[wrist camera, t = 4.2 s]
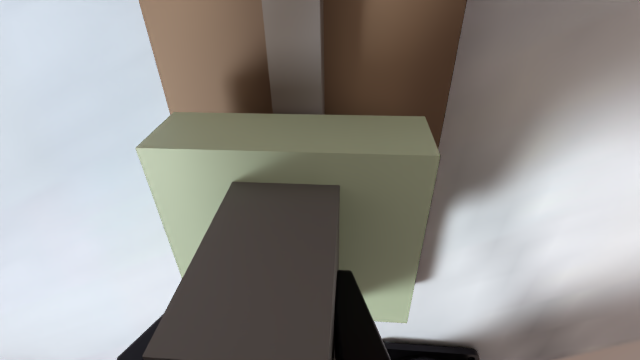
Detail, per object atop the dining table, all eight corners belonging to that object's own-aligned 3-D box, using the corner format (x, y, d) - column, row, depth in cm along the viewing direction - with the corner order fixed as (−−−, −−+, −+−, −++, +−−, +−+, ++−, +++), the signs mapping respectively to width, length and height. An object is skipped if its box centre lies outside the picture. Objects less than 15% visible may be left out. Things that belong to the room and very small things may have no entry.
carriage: (425, 116, 11) (515, 345, 5) (400, 271, 15) (431, 506, 9) (173, 112, 11) (-37, 308, 5) (214, 262, 15) (120, 474, 9)
